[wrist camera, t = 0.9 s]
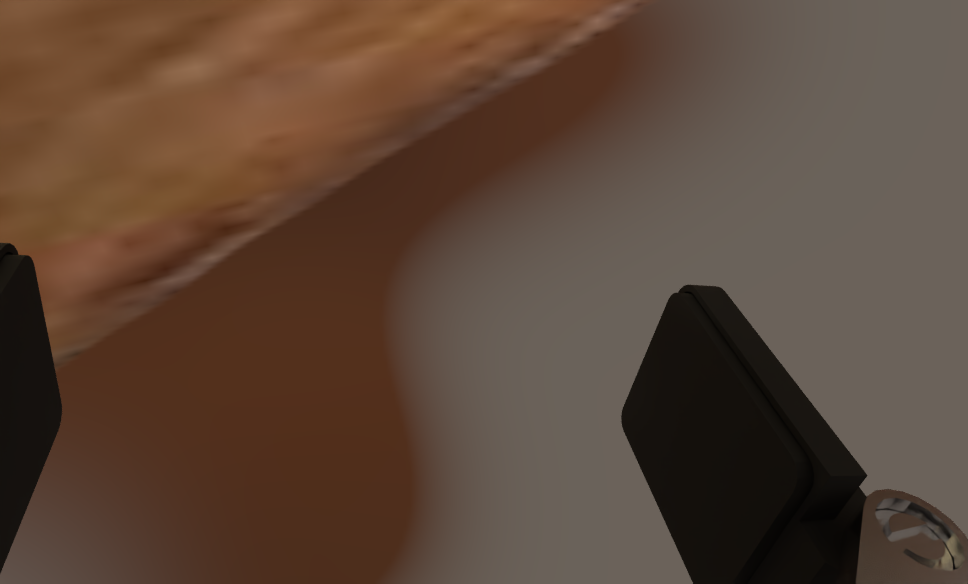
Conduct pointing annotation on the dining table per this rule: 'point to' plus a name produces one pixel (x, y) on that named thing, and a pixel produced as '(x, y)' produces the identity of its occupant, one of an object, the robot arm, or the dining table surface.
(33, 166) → the dining table surface
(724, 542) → the robot arm
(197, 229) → the dining table surface
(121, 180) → the dining table surface
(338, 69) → the dining table surface
